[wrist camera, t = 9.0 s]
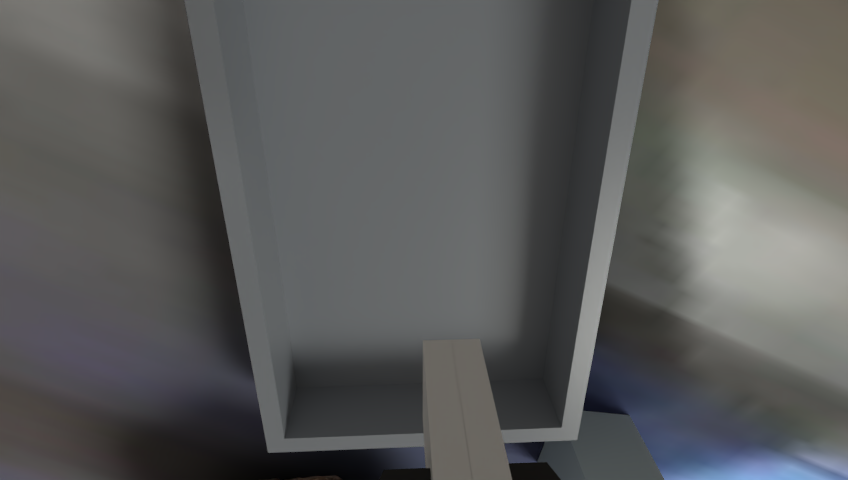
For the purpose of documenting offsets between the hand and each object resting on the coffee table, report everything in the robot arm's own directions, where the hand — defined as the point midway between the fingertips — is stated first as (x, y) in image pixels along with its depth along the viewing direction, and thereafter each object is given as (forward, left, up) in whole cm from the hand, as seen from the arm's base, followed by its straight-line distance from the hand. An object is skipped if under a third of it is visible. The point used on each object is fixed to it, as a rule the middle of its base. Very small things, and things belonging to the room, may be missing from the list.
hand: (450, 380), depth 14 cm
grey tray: (0, 0, -14) cm, 14 cm away
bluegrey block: (+11, -18, -14) cm, 26 cm away
